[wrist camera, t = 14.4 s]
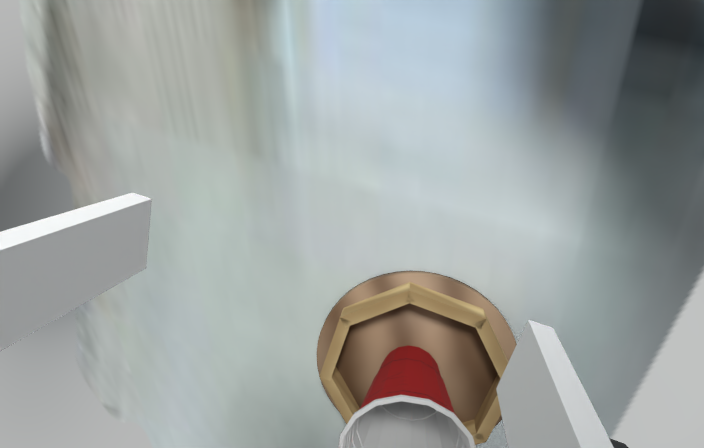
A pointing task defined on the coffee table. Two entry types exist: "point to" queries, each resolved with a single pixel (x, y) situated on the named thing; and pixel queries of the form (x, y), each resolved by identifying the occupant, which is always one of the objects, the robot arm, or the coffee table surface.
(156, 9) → the coffee table surface
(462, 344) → the ring base
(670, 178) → the coffee table surface
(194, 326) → the coffee table surface
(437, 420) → the plastic cup
